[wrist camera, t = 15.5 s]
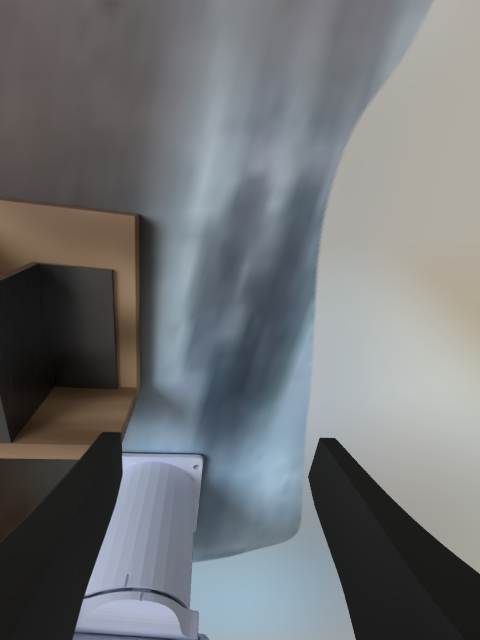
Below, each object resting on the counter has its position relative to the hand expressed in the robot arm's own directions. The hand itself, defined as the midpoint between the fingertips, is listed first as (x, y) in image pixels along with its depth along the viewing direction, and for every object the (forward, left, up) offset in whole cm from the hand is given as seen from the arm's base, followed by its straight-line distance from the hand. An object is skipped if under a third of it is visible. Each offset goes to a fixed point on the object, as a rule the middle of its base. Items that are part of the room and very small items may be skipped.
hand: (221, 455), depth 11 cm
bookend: (0, +8, -9) cm, 12 cm away
